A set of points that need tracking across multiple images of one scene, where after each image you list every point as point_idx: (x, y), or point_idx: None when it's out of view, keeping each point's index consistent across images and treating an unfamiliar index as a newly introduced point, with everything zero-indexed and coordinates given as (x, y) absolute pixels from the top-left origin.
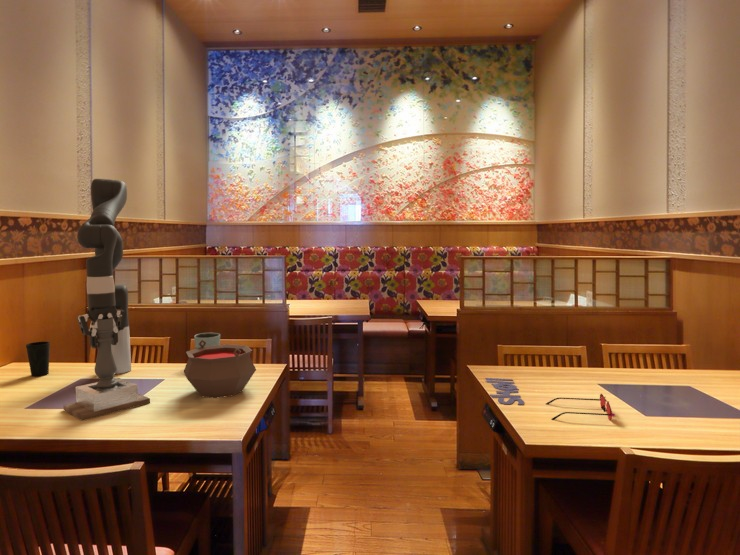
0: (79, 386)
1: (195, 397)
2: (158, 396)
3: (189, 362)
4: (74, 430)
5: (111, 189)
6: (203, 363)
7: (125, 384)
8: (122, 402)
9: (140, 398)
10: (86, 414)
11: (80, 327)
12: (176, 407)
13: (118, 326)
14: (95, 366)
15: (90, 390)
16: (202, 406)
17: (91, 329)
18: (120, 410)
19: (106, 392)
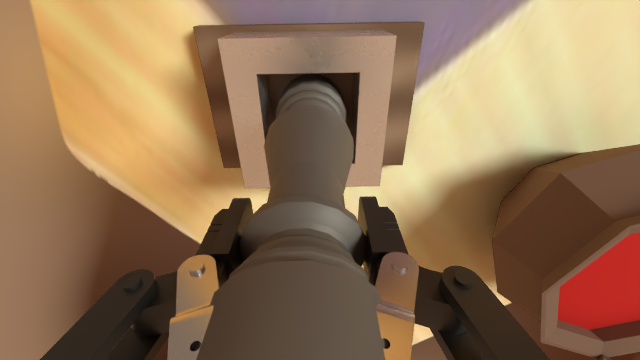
0: (231, 47)
1: (488, 199)
2: (451, 121)
3: (562, 242)
4: (202, 205)
5: None
6: (538, 304)
7: (359, 155)
8: None
9: (387, 147)
10: (234, 167)
11: (68, 343)
12: (411, 226)
13: (441, 318)
14: (265, 154)
15: (251, 136)
16: (444, 254)
17: (194, 309)
18: None
19: None
